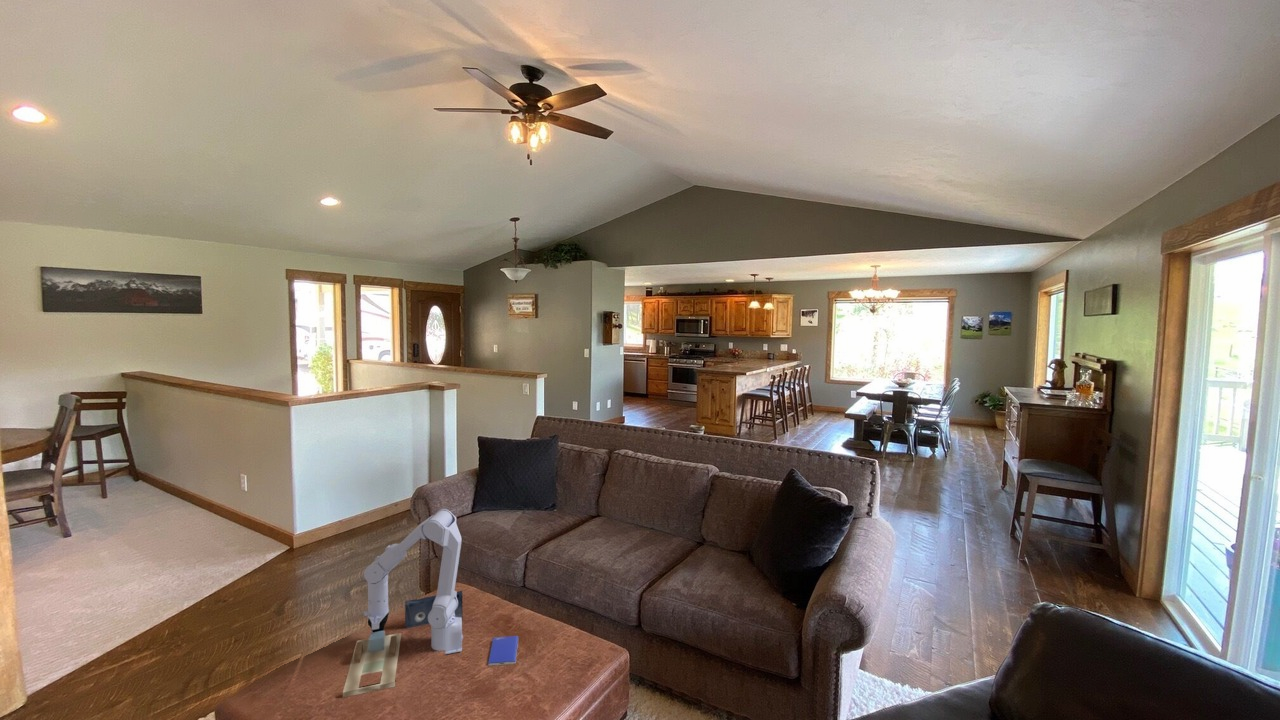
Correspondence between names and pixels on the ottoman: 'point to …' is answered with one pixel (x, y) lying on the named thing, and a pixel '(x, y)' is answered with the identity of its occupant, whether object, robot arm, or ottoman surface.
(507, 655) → the blue book
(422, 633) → the ottoman surface
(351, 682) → the cream flat tray
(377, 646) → the blue block
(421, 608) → the vhs cassette tape
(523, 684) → the ottoman surface
